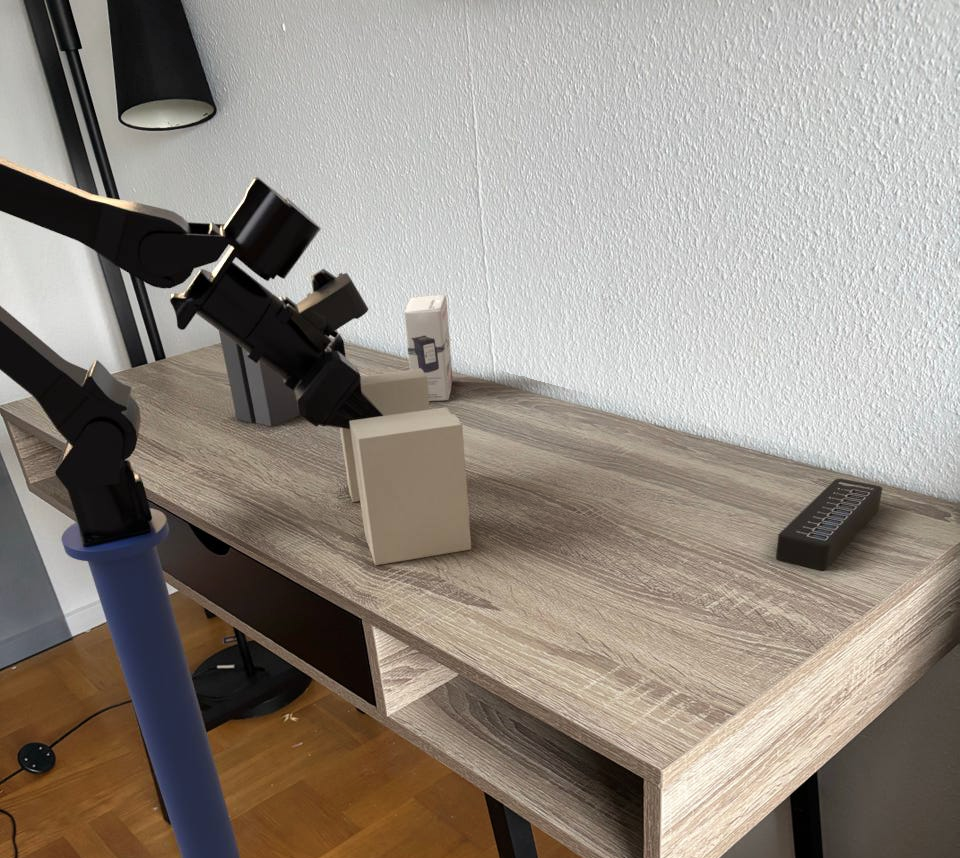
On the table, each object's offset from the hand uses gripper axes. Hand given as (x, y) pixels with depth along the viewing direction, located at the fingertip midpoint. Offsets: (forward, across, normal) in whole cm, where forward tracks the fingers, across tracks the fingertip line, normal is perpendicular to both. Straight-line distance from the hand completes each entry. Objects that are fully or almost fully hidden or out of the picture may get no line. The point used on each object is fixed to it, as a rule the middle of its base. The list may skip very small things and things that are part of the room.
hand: (384, 418), depth 96 cm
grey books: (-1, +32, +12) cm, 34 cm away
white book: (+6, 0, +6) cm, 8 cm away
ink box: (+13, +31, -2) cm, 34 cm away
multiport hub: (+31, -25, -20) cm, 44 cm away
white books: (+6, -13, +6) cm, 15 cm away
